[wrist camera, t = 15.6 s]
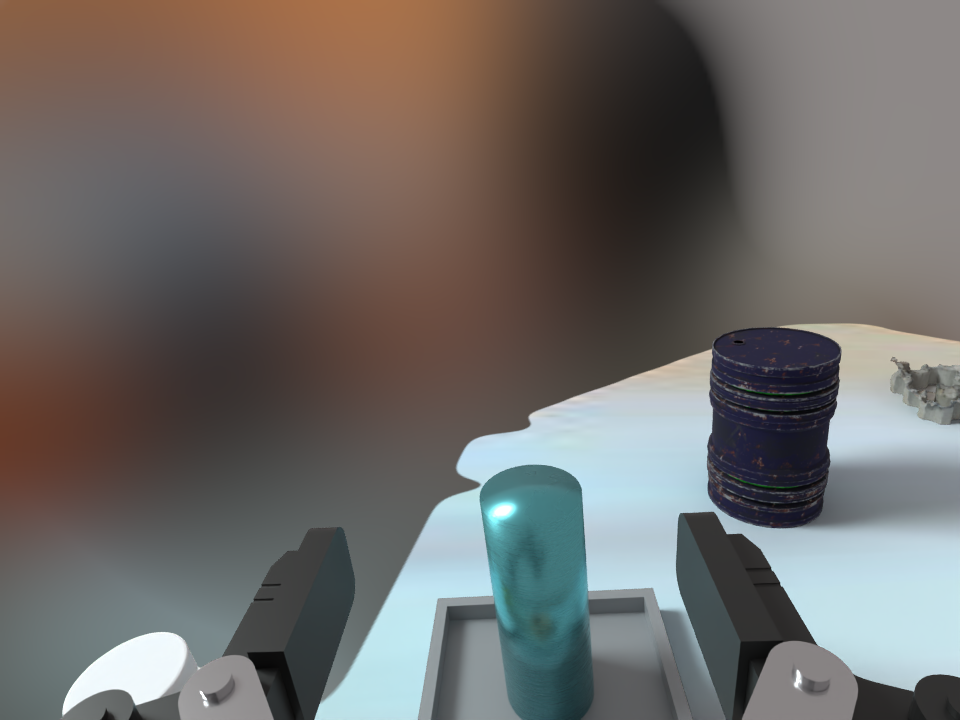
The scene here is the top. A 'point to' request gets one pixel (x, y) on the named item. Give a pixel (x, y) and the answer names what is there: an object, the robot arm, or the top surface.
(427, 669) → the tray
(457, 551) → the top surface
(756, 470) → the dark blue barrel
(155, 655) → the supplement bottle
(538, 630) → the bottle
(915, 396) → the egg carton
